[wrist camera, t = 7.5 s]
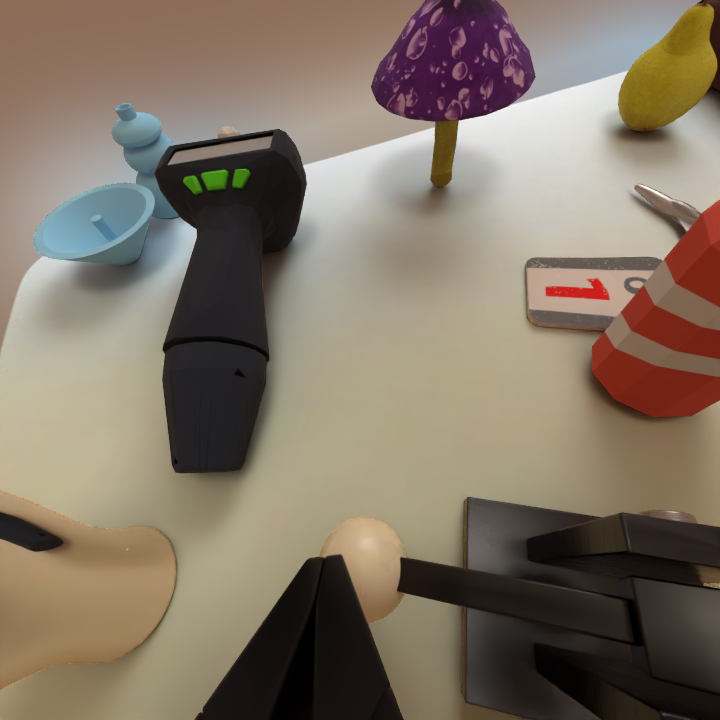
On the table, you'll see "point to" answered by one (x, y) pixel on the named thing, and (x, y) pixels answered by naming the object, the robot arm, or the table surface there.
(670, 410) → the beverage can
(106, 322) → the table surface
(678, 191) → the table surface
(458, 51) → the decorative mushroom
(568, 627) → the lever
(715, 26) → the dress shoe
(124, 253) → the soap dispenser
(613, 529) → the bracket
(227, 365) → the handheld device
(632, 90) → the fruit
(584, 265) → the printed sign plate
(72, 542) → the beer glass
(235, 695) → the robot arm
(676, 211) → the grey piece
